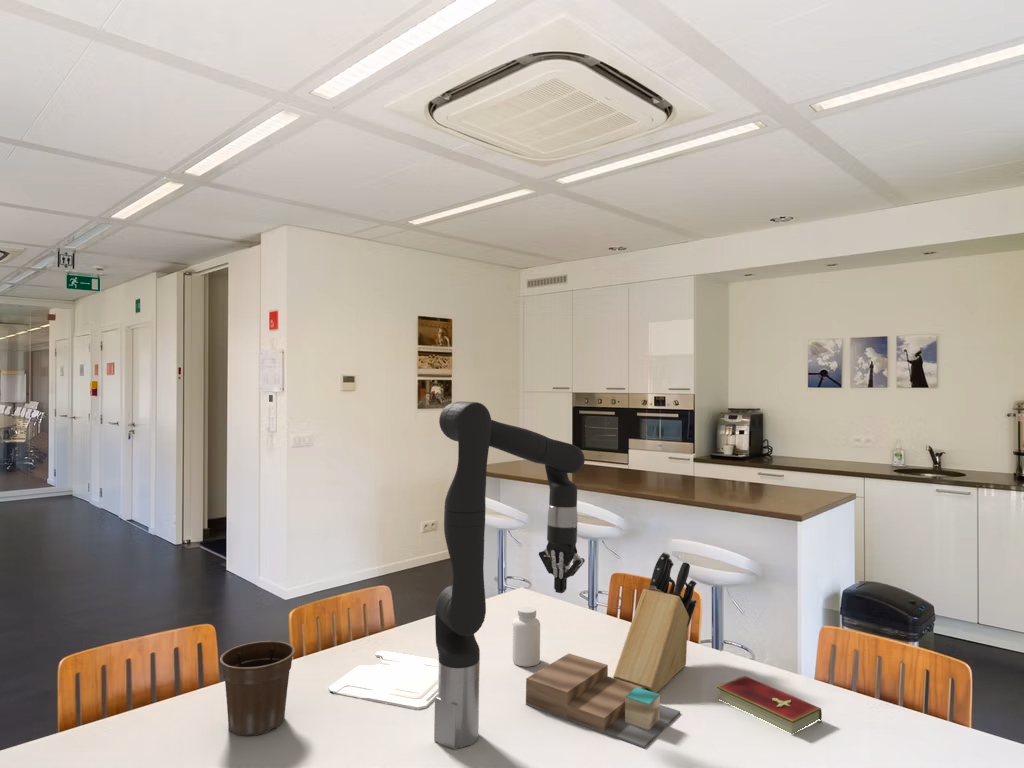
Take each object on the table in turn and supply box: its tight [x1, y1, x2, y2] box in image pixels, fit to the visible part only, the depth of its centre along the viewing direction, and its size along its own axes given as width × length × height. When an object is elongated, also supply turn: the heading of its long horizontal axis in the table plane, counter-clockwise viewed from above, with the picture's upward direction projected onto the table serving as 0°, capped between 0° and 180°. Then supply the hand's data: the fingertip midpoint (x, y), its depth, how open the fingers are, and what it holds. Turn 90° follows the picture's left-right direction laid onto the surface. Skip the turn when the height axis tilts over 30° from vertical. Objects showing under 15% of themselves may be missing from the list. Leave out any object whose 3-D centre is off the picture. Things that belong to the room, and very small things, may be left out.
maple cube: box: [625, 687, 661, 730], centre depth 154 cm, size 6×6×6 cm
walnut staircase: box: [525, 653, 681, 749], centre depth 160 cm, size 20×32×6 cm, turn 53°
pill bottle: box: [511, 606, 541, 668], centre depth 188 cm, size 8×8×15 cm
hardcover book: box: [716, 675, 823, 734], centre depth 160 cm, size 12×21×4 cm, turn 35°
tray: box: [328, 650, 439, 711], centre depth 176 cm, size 28×28×2 cm
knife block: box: [612, 551, 697, 694], centre depth 183 cm, size 11×35×31 cm, turn 145°
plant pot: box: [219, 640, 296, 737], centre depth 151 cm, size 16×16×16 cm
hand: (560, 592), depth 164 cm, fingers closed
